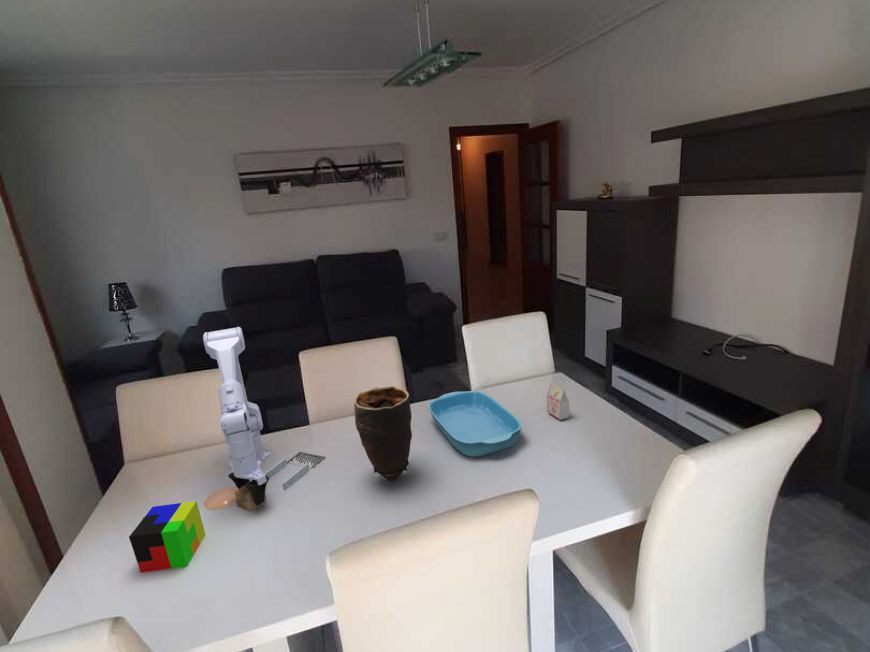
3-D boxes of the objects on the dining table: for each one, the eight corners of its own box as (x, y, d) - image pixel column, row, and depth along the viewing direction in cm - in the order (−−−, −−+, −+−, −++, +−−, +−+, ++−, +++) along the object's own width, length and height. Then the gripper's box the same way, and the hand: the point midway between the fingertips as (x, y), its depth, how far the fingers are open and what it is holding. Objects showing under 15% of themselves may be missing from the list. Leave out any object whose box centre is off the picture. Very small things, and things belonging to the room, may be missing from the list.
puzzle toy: (163, 542, 110) (152, 506, 107) (205, 536, 111) (196, 501, 108) (141, 574, 100) (128, 536, 98) (187, 568, 101) (176, 530, 98)
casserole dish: (535, 450, 134) (534, 428, 132) (466, 472, 127) (464, 449, 125) (479, 403, 167) (477, 385, 165) (421, 418, 160) (419, 399, 158)
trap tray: (286, 463, 139) (286, 462, 138) (300, 453, 144) (299, 451, 144) (312, 469, 134) (312, 467, 134) (325, 458, 140) (325, 456, 139)
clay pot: (366, 501, 118) (353, 413, 111) (362, 469, 132) (350, 389, 125) (423, 489, 120) (413, 402, 114) (413, 458, 135) (404, 380, 128)
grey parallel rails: (260, 485, 129) (258, 477, 128) (285, 465, 138) (283, 458, 137) (285, 491, 125) (284, 483, 124) (309, 471, 134) (308, 463, 133)
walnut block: (238, 508, 120) (234, 492, 118) (253, 497, 124) (249, 481, 123) (251, 513, 118) (248, 496, 116) (266, 501, 122) (263, 485, 120)
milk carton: (556, 409, 157) (555, 382, 154) (569, 417, 151) (568, 389, 148) (547, 411, 156) (546, 384, 153) (559, 419, 150) (559, 391, 147)
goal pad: (195, 506, 122) (195, 505, 122) (225, 484, 131) (225, 483, 131) (221, 514, 118) (221, 513, 118) (251, 491, 127) (251, 490, 126)
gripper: (272, 453, 116) (282, 499, 119) (242, 439, 124) (252, 482, 128) (247, 467, 110) (258, 515, 114) (217, 451, 119) (228, 496, 123)
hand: (253, 498), depth 121 cm, fingers open, 6 cm apart
